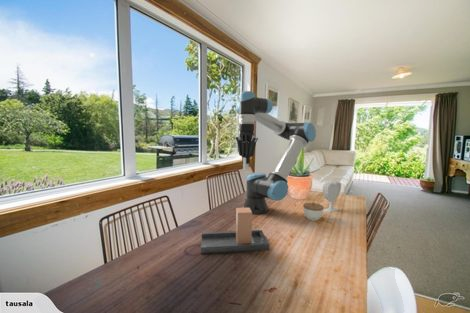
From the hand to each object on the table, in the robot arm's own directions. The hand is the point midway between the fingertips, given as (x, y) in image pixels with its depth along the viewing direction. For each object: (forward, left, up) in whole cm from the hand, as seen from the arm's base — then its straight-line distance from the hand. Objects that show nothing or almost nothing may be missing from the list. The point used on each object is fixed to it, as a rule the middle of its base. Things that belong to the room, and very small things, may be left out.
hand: (245, 169), depth 110 cm
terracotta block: (+12, -15, -28) cm, 34 cm away
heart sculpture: (+24, +57, -30) cm, 69 cm away
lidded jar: (+22, +34, -30) cm, 50 cm away
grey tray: (+9, -18, -29) cm, 36 cm away
